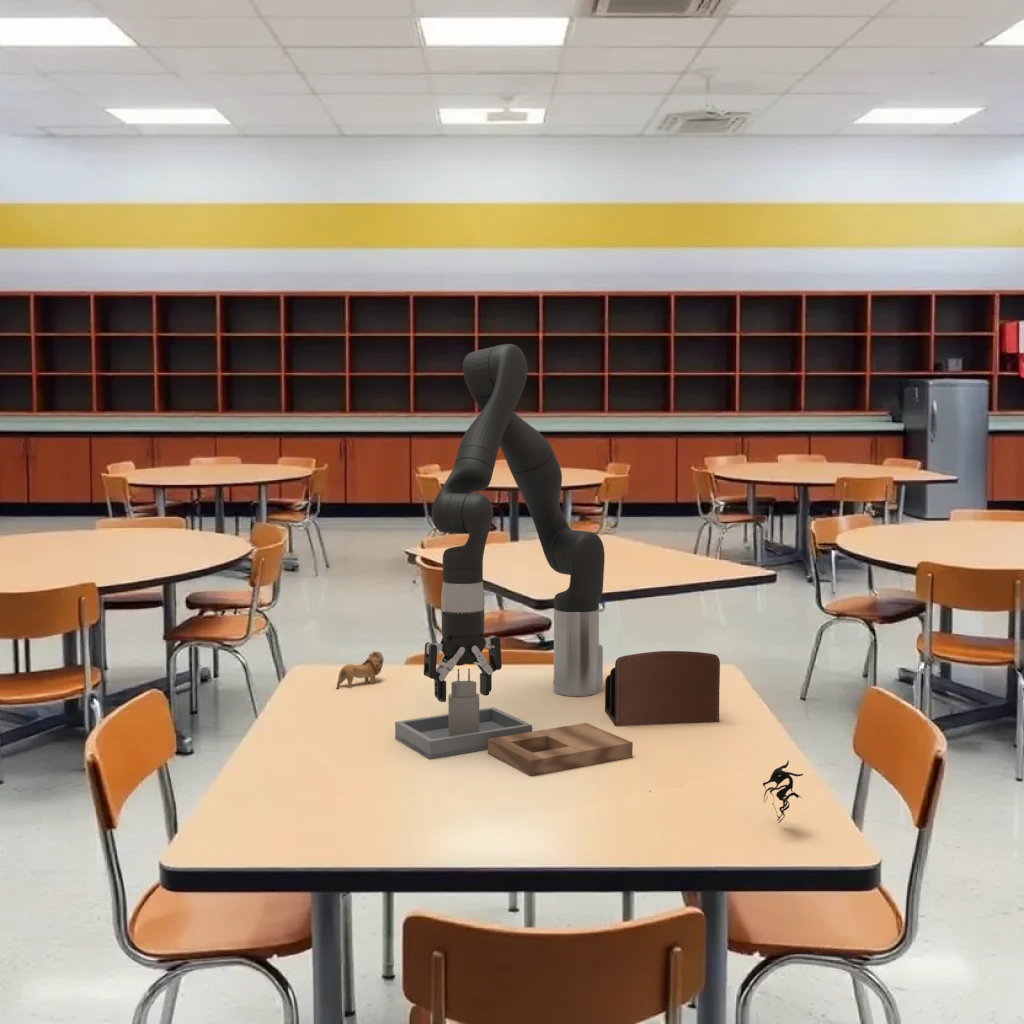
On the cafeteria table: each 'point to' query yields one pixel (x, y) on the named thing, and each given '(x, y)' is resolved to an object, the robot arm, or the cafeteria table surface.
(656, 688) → the letter holder
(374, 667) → the lion figurine
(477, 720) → the power adapter
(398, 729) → the tray
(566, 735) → the dock board
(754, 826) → the cafeteria table surface
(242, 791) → the cafeteria table surface
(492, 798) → the cafeteria table surface
